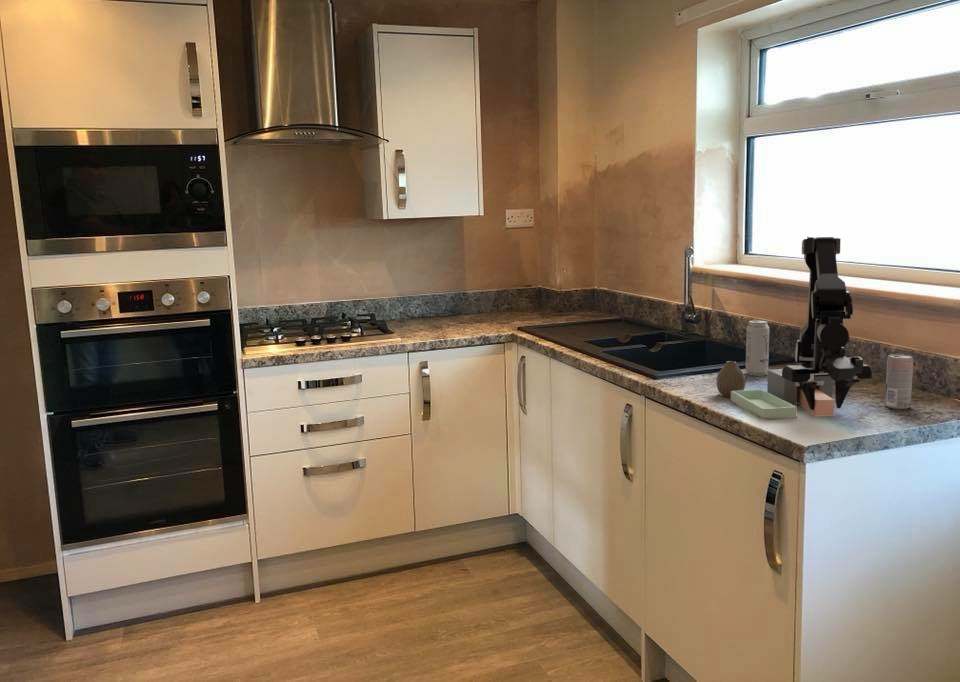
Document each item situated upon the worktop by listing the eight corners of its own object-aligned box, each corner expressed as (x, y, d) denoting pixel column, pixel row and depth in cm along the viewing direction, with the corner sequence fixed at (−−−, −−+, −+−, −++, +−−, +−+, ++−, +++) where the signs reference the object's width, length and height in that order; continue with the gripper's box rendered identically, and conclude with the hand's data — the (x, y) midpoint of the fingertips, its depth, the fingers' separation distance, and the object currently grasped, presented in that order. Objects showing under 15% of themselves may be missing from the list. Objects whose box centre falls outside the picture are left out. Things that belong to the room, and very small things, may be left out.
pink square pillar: (794, 402, 196) (795, 386, 195) (811, 402, 196) (812, 386, 195) (815, 417, 182) (816, 400, 181) (833, 417, 182) (834, 399, 181)
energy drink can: (765, 377, 223) (766, 323, 220) (743, 375, 226) (744, 322, 223) (770, 372, 228) (771, 320, 225) (748, 371, 231) (749, 319, 228)
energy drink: (902, 403, 190) (905, 353, 188) (915, 408, 185) (918, 357, 183) (880, 404, 190) (882, 354, 188) (892, 409, 185) (895, 358, 183)
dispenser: (767, 397, 200) (767, 369, 199) (813, 394, 201) (814, 367, 200) (784, 406, 191) (785, 377, 189) (833, 404, 192) (834, 375, 190)
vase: (710, 394, 205) (711, 361, 203) (732, 391, 207) (732, 358, 206) (728, 400, 198) (729, 365, 197) (750, 397, 201) (751, 362, 200)
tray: (730, 400, 198) (730, 390, 197) (761, 399, 198) (762, 389, 198) (762, 419, 180) (762, 408, 180) (796, 417, 181) (796, 407, 180)
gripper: (805, 349, 172) (802, 420, 175) (888, 345, 174) (884, 415, 176) (781, 341, 183) (779, 407, 186) (860, 337, 185) (856, 403, 187)
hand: (825, 408), depth 184 cm, fingers open, 6 cm apart
